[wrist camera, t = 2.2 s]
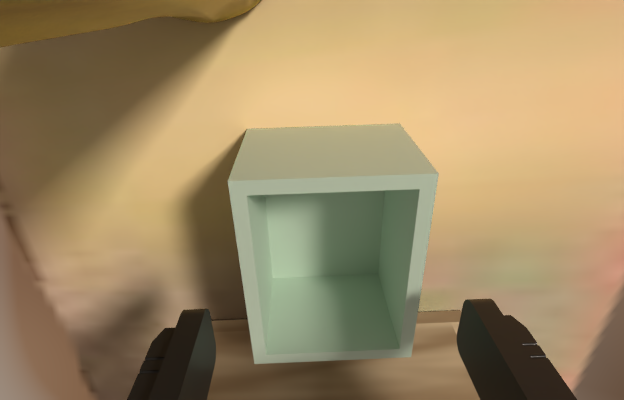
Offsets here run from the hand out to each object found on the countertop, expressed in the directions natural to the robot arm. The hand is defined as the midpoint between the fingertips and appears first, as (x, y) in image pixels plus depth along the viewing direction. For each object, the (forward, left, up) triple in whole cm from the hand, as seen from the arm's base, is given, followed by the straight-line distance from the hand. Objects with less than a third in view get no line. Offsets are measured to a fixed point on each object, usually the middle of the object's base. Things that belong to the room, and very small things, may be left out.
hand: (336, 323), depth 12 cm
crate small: (0, 0, -6) cm, 6 cm away
